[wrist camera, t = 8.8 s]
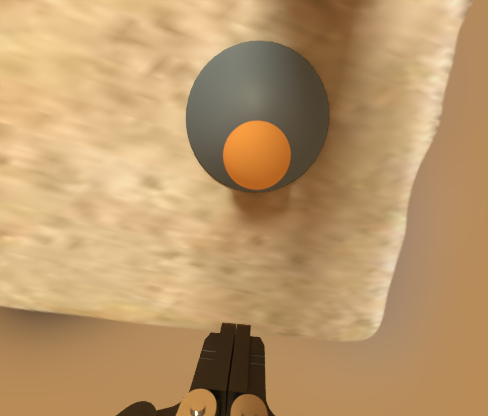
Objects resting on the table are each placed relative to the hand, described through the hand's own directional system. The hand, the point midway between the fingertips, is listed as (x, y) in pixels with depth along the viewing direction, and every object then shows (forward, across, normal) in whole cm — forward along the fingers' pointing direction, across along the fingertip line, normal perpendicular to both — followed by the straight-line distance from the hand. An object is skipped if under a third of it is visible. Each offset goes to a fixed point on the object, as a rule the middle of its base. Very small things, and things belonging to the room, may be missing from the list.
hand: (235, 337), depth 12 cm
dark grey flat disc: (+14, 0, -13) cm, 19 cm away
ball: (+11, 0, -9) cm, 14 cm away
